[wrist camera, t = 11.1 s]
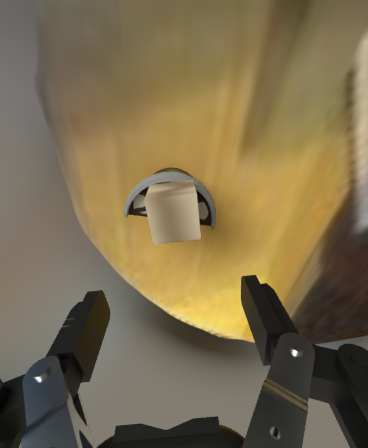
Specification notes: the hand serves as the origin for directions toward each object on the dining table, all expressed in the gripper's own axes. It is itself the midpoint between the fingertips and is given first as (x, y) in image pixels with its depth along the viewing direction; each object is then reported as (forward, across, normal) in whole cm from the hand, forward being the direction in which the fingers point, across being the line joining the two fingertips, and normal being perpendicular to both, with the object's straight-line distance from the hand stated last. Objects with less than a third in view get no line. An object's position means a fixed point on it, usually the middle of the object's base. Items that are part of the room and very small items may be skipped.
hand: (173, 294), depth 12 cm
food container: (+25, 0, 0) cm, 25 cm away
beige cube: (+15, 0, 0) cm, 15 cm away
